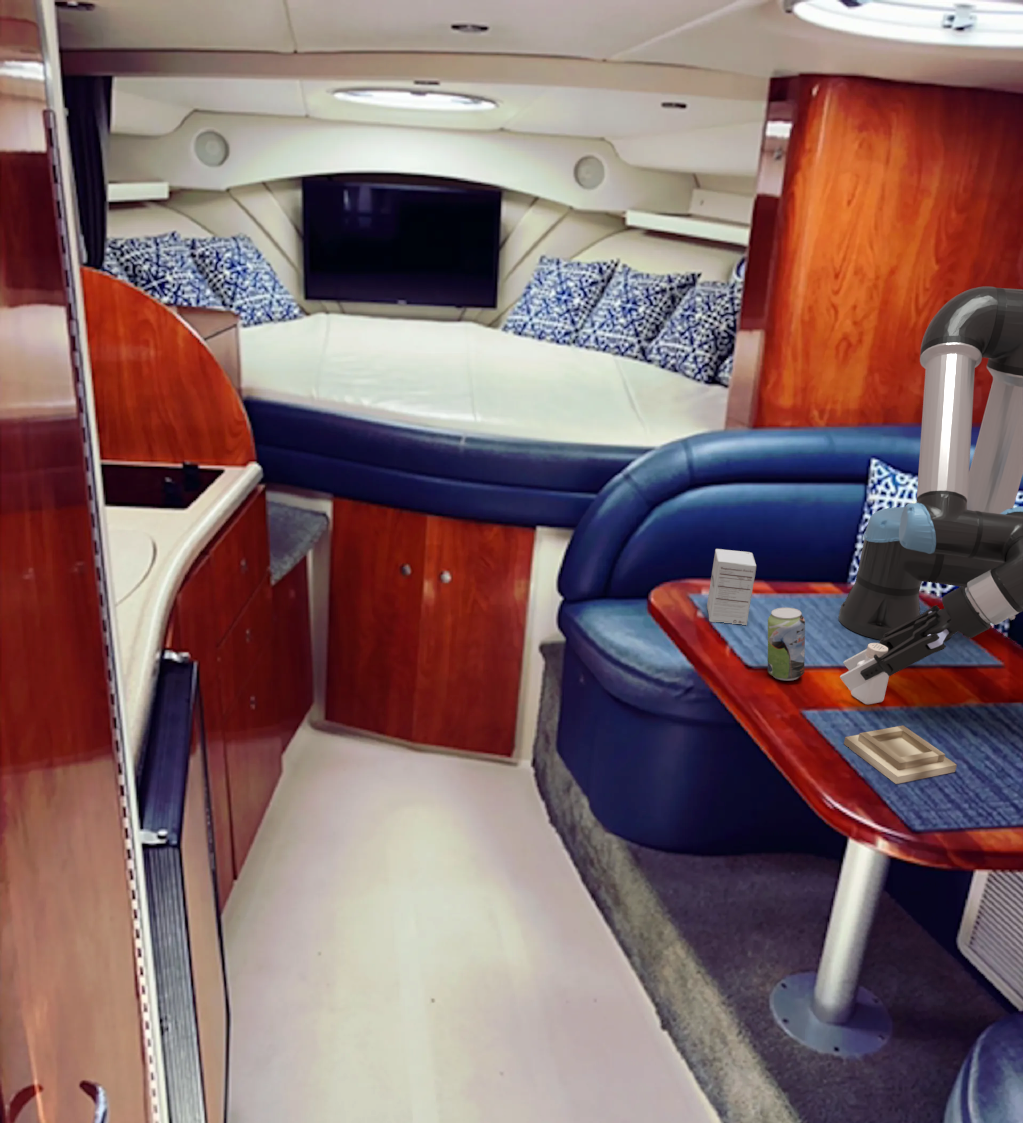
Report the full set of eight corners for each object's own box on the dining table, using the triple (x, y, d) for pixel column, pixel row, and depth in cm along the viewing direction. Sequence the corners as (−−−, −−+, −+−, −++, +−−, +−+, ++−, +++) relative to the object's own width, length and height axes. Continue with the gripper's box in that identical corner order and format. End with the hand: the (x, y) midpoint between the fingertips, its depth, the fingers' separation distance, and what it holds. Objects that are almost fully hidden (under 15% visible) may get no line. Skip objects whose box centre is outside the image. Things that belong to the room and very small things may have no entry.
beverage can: (804, 687, 162) (816, 622, 158) (759, 680, 163) (770, 615, 159) (801, 670, 168) (813, 607, 163) (758, 664, 169) (769, 601, 165)
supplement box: (705, 607, 192) (714, 547, 187) (743, 611, 191) (753, 551, 186) (707, 622, 185) (717, 560, 180) (747, 626, 184) (757, 565, 179)
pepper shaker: (865, 706, 157) (877, 653, 153) (848, 694, 160) (859, 643, 157) (884, 702, 158) (896, 650, 155) (867, 691, 162) (878, 640, 158)
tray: (900, 733, 149) (903, 720, 148) (955, 771, 140) (958, 757, 139) (843, 743, 145) (846, 730, 144) (896, 784, 136) (899, 769, 135)
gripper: (995, 647, 140) (856, 718, 151) (990, 604, 156) (864, 671, 167) (964, 606, 140) (827, 680, 151) (962, 567, 156) (838, 637, 167)
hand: (847, 675), depth 159 cm, fingers closed on pepper shaker, 5 cm apart
